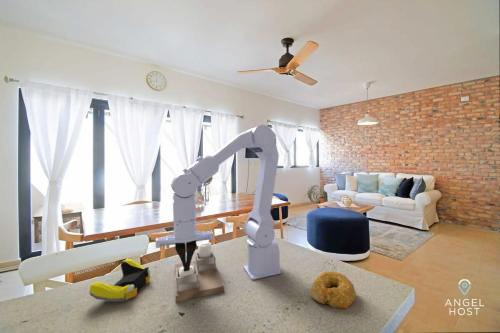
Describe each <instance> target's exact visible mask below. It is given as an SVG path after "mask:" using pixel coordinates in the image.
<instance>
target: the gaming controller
mask: <svg viewBox="0 0 500 333" xmlns="http://www.w3.org/2000/svg"><path fill="white" fill-rule="evenodd" d="M120 269H121V272H122V277H121V278H120V279H119V280H118V281H116V283H114V284H108V283H105V282H101V281H95V282H92V283H90V286H89V287H90V288H89V295H90V296H91V297H92V298H94V299H95V300H101V301H106V302H118V303H124V302H126V301H128V300H130V299H132V298H133V297H136V296H137V295H138V293H139V292H141V291H142V289H143V288H144V287H145V286H146V285H147V284H149V282H150V278H151V269H152V268H151V267H149V266H146V267H144V266H142V265H141V264H140V263H138V262H136V261H135V260H133V259H130V258H126V259H124V260H122V261H121V263H120Z"/></svg>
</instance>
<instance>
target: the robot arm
mask: <svg viewBox="0 0 500 333" xmlns="http://www.w3.org/2000/svg"><path fill="white" fill-rule="evenodd" d="M276 139H277V134H276V133H275V131H273V130H272V128H271V127H270V126H269V125H267V124H260V125H257V126H255V127H252V128H246V130H244V131H243V132H241V133H239V134H237V135H236V136H235V137H233V138H232V139H231V140H230V141H229V142H227V143H226V144H225V145H223V146H222V147H221V148H220V149H218V151H216V152H215V153H214V154H213V155H208V154H207V155H203V156H202V155H201V156H200V155H199V156H198V157H197V158H196V160H197V161H196V162H194V163H193V164H191V165H190V166H188V168H186V167H184V168H183V169H182V172H183V173H179V174H176V175H175V176H174V177H173V178H172V181H171V184H170V187H171V189H172V191H173V196H172V199H173V200H172V201H173V203H172V211H173V212H172V213H173V216H172V217H173V218H172V219H173V234H171V235H169V234H168V235H166V236H161V237H155V249H161V247H168V246H174V245H175V246H174V248H175V251H176V253H177V255H178V257H179V259H180V262H181V263H182V264H183V268H184V271H189V270H190V263H191V262H192V261H193V257H194V254H195V253H196V249H197V247H198V245H197V242H201V241H202V242H204V241H213V240H214V232H213V231H212V230H209V231H208V230H207V231H204V230H203V231H201V230H200V231H197V208H196V206H197V205H196V196H195V194H196V192H197V191H198V187H199V186H202V185H204V183H206V182H207V181H208V180H209V179H210V178H212V177H213V176H214V175H216V174H217V173H218V172H219V169H220V165H221V164H222V163H224V162H226V161H227V160H228V159H230V158H231V157H233V155H235V154H237V153H238V152H239V151H241V150H242V149H249V150H250V151H252V152H253V153H255V155H256V156H257V157H258V159H259V166H258V167H259V168H258V174H257V179H256V186H255V194H254V200H253V207H252V210H251V211H250V212H249V213H248V217H247V219H246V221H245V223H244V225H243V231H244V233H245V235H246V236H247V241H246V244H247V250H246V251H247V252H246V253H247V256H246V257H247V264H244V265H243V269H244V270H245V272H246V274H247V275H248V276H249V278H250V279H251V280H253V281H254V280H257V279H261V278H262V279H263V278H266V277H267V278H268V277H271V276H276V275H279V274H281V273H282V271H281V265H280V259H281V258H280V254H281V253H280V247H279V245H278V242H277V241H276V240H275V236H276V233H275V228H274V224H275V221H274V218H273V216H272V214H271V210H272V203H273V196H274V190H275V189H274V188H275V184H276V183H275V182H276V176H277V170H278V165H279V157H280V154H279V150H278V146H277V142H276Z"/></svg>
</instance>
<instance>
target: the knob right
mask: <svg viewBox="0 0 500 333" xmlns="http://www.w3.org/2000/svg"><path fill="white" fill-rule="evenodd" d="M197 247H198V248H197V249H198V251H197V252H198V253H199V259H204V258H209V257H212V242H210V241H202V242H200V243H198V245H197Z"/></svg>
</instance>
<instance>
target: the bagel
mask: <svg viewBox="0 0 500 333" xmlns="http://www.w3.org/2000/svg"><path fill="white" fill-rule="evenodd" d="M309 295H310V297H311V298H312V299H313V300H315V301H316V302H317V303H319V304H322V305H326V304H327V305H329V306H330V307H332V308H340V309H347V308H348V307H350V306H351V305H352V304H353V302H354V301H355V300H356V290H355V286H354V284H353V283H352V281H351V280H350V279H349V278H348V276H346V275H345V274H342V273H340V272H337V271H324V272H322V273H320V274H319V275H318V276H316V278H315V279H314V280H313V282H312V285H311V288H310V291H309Z"/></svg>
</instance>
